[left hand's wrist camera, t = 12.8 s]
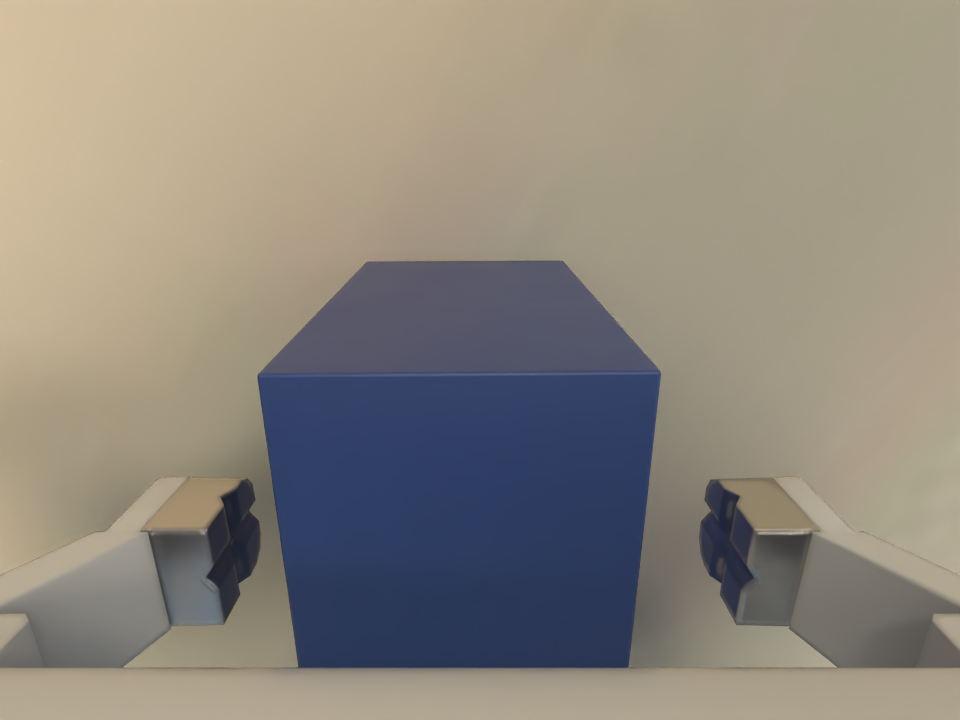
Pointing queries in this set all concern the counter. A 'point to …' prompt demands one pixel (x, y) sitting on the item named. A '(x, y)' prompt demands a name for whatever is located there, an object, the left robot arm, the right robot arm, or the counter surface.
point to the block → (461, 470)
